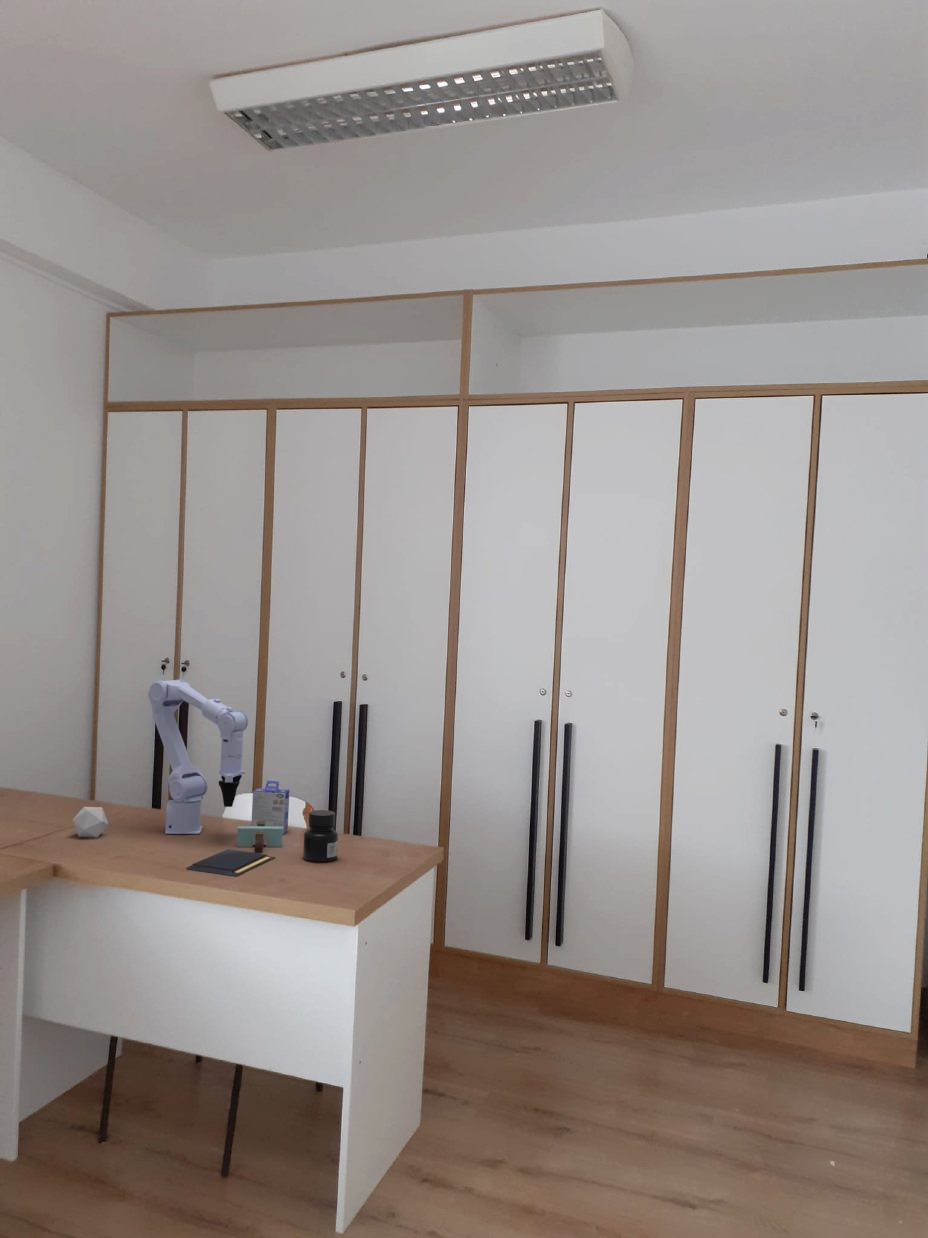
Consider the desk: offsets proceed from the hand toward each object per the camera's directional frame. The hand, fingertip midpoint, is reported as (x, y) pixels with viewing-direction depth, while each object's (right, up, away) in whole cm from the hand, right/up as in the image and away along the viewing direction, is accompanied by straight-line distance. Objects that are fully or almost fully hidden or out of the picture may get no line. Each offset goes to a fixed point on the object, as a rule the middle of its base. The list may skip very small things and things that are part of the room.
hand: (229, 803), depth 262 cm
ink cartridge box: (+9, -11, +11) cm, 18 cm away
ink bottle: (+28, -12, -15) cm, 34 cm away
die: (-37, -8, -4) cm, 38 cm away
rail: (+10, -10, -5) cm, 15 cm away
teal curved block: (+10, -10, -5) cm, 15 cm away
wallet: (+7, -11, -24) cm, 27 cm away
